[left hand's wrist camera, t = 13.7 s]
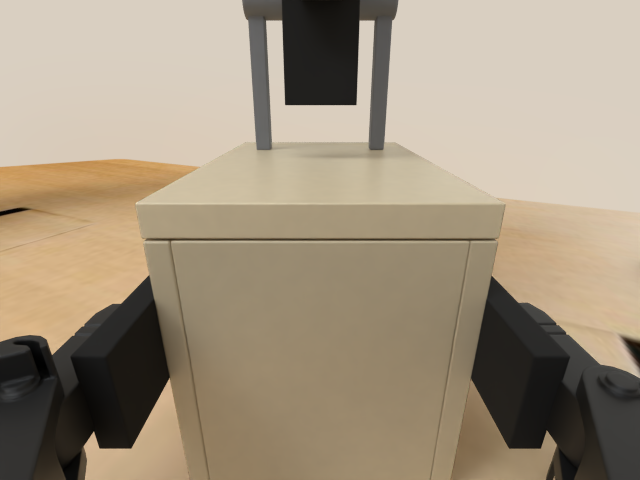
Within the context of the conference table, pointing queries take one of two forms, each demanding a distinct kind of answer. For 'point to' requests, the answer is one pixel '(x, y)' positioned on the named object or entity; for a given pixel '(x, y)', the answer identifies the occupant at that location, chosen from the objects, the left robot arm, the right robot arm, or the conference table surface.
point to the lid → (320, 175)
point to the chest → (320, 353)
